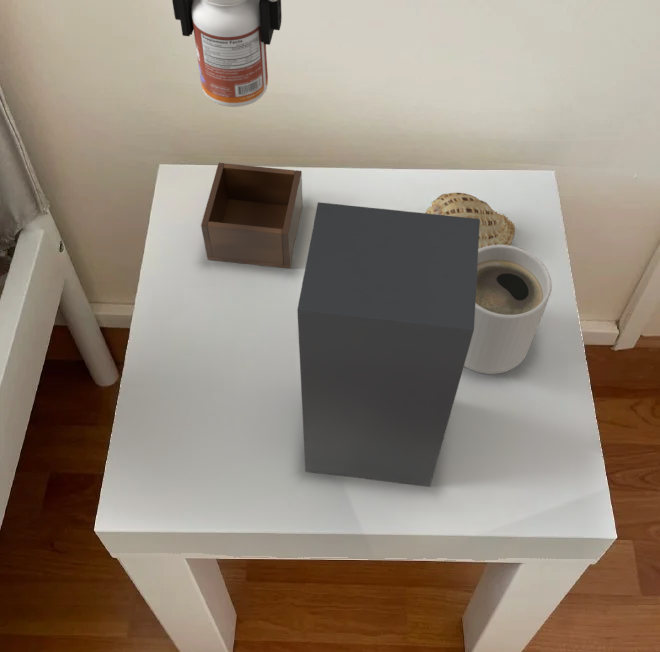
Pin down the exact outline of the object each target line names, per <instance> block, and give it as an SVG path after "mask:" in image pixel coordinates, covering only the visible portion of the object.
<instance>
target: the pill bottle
mask: <svg viewBox="0 0 660 652" xmlns="http://www.w3.org/2000/svg"><path fill="white" fill-rule="evenodd" d="M259 1H260V0H193V2H192V7H191V13H192V22H193V36H194V42H195V50H196V57H197V64H198V70H199V78H200V84H201V88H202V91H203V93H204V95H205V96H206V97H207V99H209V100H210V101H211V102H213V103H214V104H217V105H219V106H222V107H229V108H239V107H245V106H249V105H252V104H254V103H257V101H259V100H260V99H261V98H262V97H263V95H264V94H265V93H266V91H267V89H268V84H269V74H268V59H267V58H268V57H267V44H264V43H263V42H261V28H260V11H259Z"/></svg>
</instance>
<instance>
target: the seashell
mask: <svg viewBox="0 0 660 652" xmlns="http://www.w3.org/2000/svg"><path fill="white" fill-rule="evenodd" d="M424 213H427V214H437V215H446V216H456V217H466V218H475V219H480V227H479V246H478V249H480V248H483V247H486V246H490V245H510V246H511V245H512V243H513V240H514V238H515V235H516V225H515V223H513V221H512V220H510V219H509V217H508V216H506V215H504V214H503V213H502V214H500V213H498V212H497V211H495V210H493V208H492V206H490V204H488V203H487V202H486V201H484V200H481V199H479V198H477V197H476V196H474V195H472V194H469V193H466V192H465V193H464V192H448V193H447V192H446V193H443V194H440V195H439V196H437V198H435V200H433V201H431V206H429V207H428V208H427V209H426V211H425V212H424Z"/></svg>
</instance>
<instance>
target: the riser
mask: <svg viewBox="0 0 660 652" xmlns="http://www.w3.org/2000/svg"><path fill="white" fill-rule="evenodd" d="M479 227H480V219H475V218H466V217H456V216H446V215H437V214H427V213H425V212H416V211H406V210H398V209H397V210H396V209H387V208H377V207H370V206H369V207H368V206H357V205H348V204H340V203H339V204H338V203H337V204H336V203H329V202H320V201H319V202H317V204H316V210H315V213H314V221H313V226H312V231H311V236H310V242H309V246H308V250H307V251H308V252H307V257H306V262H305V267H304V273H303V279H302V284H301V289H300V293H299V294H300V295H299V300H298V305H297V310H296V311H297V331H298V333H297V334H298V351H299V371H300V372H299V373H300V389H301V411H302V430H303V431H302V434H303V451H304V452H303V453H304V472H307V473H314V474H323V475H331V476H339V477H346V478H347V477H348V478H355V479H356V478H357V479H362V480H371V481H379V482H386V483H387V482H388V483H395V484H405V485H410V486H411V485H412V486H420V487H426V488H427V487H428V488H431V486H432V482H433V477H434V474H435V471H436V468H437V464H438V461H439V456H440V453H441V449H442V446H443V442H444V439H445V435H446V431H447V429H448V425H449V421H450V418H451V414H452V411H453V406H454V403H455V399H456V396H457V392H458V388H459V384H460V381H461V377H462V374H463V370H464V368H465V366H464V364H465V360H466V357H467V353H468V349H469V346H470V342H471V339H472V335H473V332H474V321H475V302H476V283H477V264H478V246H479Z"/></svg>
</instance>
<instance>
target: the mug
mask: <svg viewBox="0 0 660 652" xmlns="http://www.w3.org/2000/svg"><path fill="white" fill-rule="evenodd" d="M552 288H553V284H552V278H551V275H550V272H549V270H548V268H547V266H545V264H544V263H543V261H541V259H539V258H538V257H537V256H536V255H534V254H533V253H532V252H530V251H527V250H525V249H523V248H521V247H518V246H514V245H511V244H510V245H490V246H486V247H483V248H480V249H478V264H477V283H476V302H475V321H474V332H473V335H472V339H471V342H470V346H469V349H468V353H467V357H466V360H465V364H464V368H466V369H468V370H471V371H473V372H476V373H480V374H486V375H497V374H498V375H499V374H502V373H506V372H509V371H511V370H513V369H515V368H516V367H518V366H519V365H520V364H522V362H523V361H524V360H525V358H526V357H527V355H528V353H529V351H530V348H531V345H532V342H533V341H534V337H535V335H536V333H537V331H538V328H539V326H540V323H541V321H542V317H543V315H544V312H545V310H546V307H547V304H548V303H549V300H550V297H551V295H552V294H551V293H552V290H553V289H552Z"/></svg>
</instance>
